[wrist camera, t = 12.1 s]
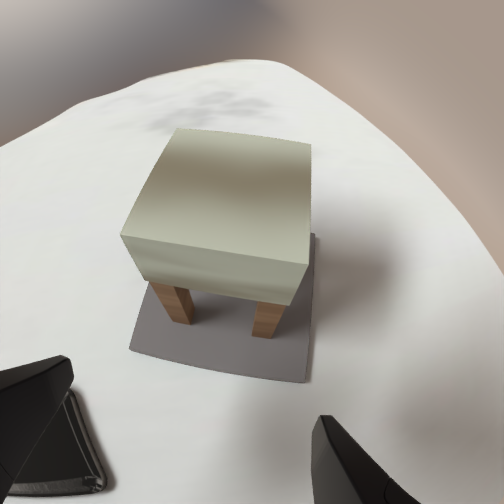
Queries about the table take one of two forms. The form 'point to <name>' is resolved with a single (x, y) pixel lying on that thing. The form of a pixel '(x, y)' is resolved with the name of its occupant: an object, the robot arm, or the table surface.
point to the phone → (61, 459)
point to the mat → (230, 334)
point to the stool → (224, 222)
